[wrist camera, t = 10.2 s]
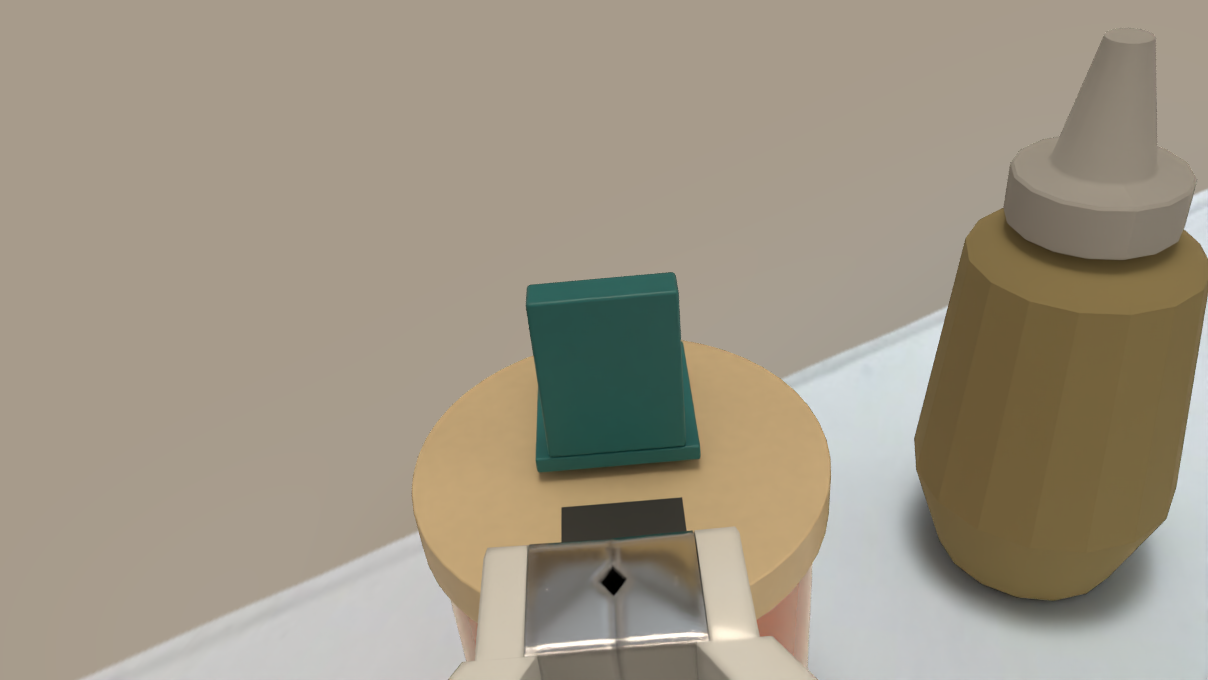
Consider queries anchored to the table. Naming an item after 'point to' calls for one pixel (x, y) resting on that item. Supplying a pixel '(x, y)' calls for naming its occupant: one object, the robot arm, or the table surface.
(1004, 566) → the squeeze bottle
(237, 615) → the table surface
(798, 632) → the lidded orange canister
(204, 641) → the table surface
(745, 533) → the cup lid
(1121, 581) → the table surface
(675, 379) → the teal l-shaped bracket
